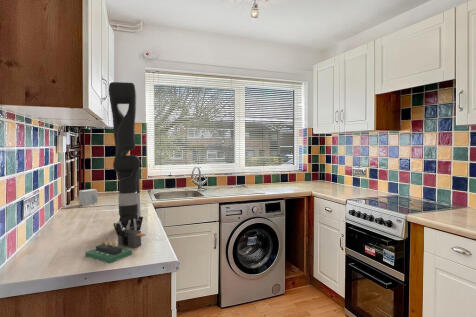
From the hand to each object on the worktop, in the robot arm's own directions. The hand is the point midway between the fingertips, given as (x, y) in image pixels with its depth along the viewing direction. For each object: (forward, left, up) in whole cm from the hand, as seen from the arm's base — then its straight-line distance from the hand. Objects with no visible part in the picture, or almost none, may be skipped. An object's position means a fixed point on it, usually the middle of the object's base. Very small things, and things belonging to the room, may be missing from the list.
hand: (129, 243), depth 124 cm
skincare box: (-95, +45, -1) cm, 105 cm away
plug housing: (+2, 0, -1) cm, 2 cm away
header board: (+2, -12, -1) cm, 12 cm away
